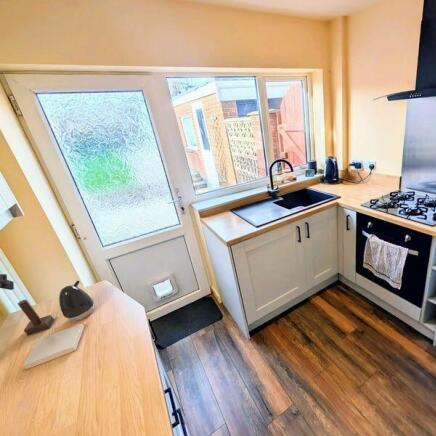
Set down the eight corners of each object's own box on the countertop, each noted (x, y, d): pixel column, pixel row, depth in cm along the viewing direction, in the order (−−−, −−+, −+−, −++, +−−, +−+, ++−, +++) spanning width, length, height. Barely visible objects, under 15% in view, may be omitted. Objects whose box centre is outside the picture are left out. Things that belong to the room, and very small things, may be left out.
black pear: (103, 305, 109) (88, 278, 103) (83, 324, 100) (65, 296, 93) (83, 305, 111) (67, 278, 104) (62, 324, 101) (42, 296, 95)
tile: (26, 369, 84) (22, 365, 83) (40, 342, 94) (37, 339, 93) (75, 350, 89) (73, 346, 88) (84, 326, 99) (82, 323, 98)
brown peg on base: (27, 335, 98) (6, 309, 92) (33, 326, 102) (13, 301, 96) (49, 328, 100) (30, 302, 94) (54, 319, 104) (36, 294, 98)
